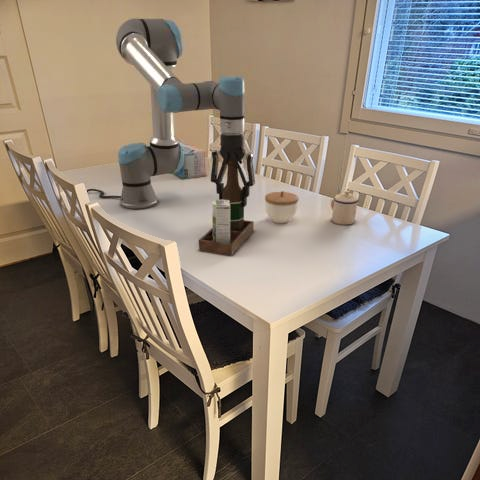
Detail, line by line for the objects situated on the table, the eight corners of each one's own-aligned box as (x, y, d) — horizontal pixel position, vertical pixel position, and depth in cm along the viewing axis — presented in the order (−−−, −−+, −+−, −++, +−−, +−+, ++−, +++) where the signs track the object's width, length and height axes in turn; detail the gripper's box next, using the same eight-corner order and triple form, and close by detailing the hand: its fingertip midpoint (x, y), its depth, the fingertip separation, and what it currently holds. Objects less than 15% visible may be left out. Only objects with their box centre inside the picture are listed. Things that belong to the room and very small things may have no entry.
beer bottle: (241, 234, 146) (241, 162, 132) (219, 232, 147) (218, 161, 133) (245, 226, 152) (246, 157, 139) (225, 224, 153) (223, 156, 140)
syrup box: (212, 241, 144) (211, 199, 136) (230, 240, 144) (229, 199, 136) (213, 248, 139) (211, 205, 131) (231, 247, 139) (230, 204, 131)
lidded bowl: (275, 228, 156) (276, 198, 150) (258, 217, 165) (259, 189, 159) (303, 222, 161) (305, 193, 155) (285, 212, 170) (287, 185, 164)
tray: (199, 250, 139) (198, 240, 137) (224, 227, 157) (223, 217, 155) (231, 255, 136) (231, 245, 134) (253, 231, 153) (253, 221, 151)
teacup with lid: (360, 222, 161) (365, 192, 154) (342, 227, 157) (346, 196, 150) (338, 213, 169) (342, 184, 163) (321, 217, 166) (324, 187, 159)
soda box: (154, 162, 239) (151, 138, 232) (177, 159, 245) (175, 135, 238) (182, 179, 210) (180, 152, 202) (207, 176, 215) (206, 149, 208)
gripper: (197, 133, 132) (201, 204, 144) (259, 137, 126) (257, 211, 138) (207, 129, 137) (209, 198, 150) (267, 133, 132) (264, 204, 144)
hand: (232, 204), depth 144 cm, fingers closed on beer bottle, 8 cm apart
